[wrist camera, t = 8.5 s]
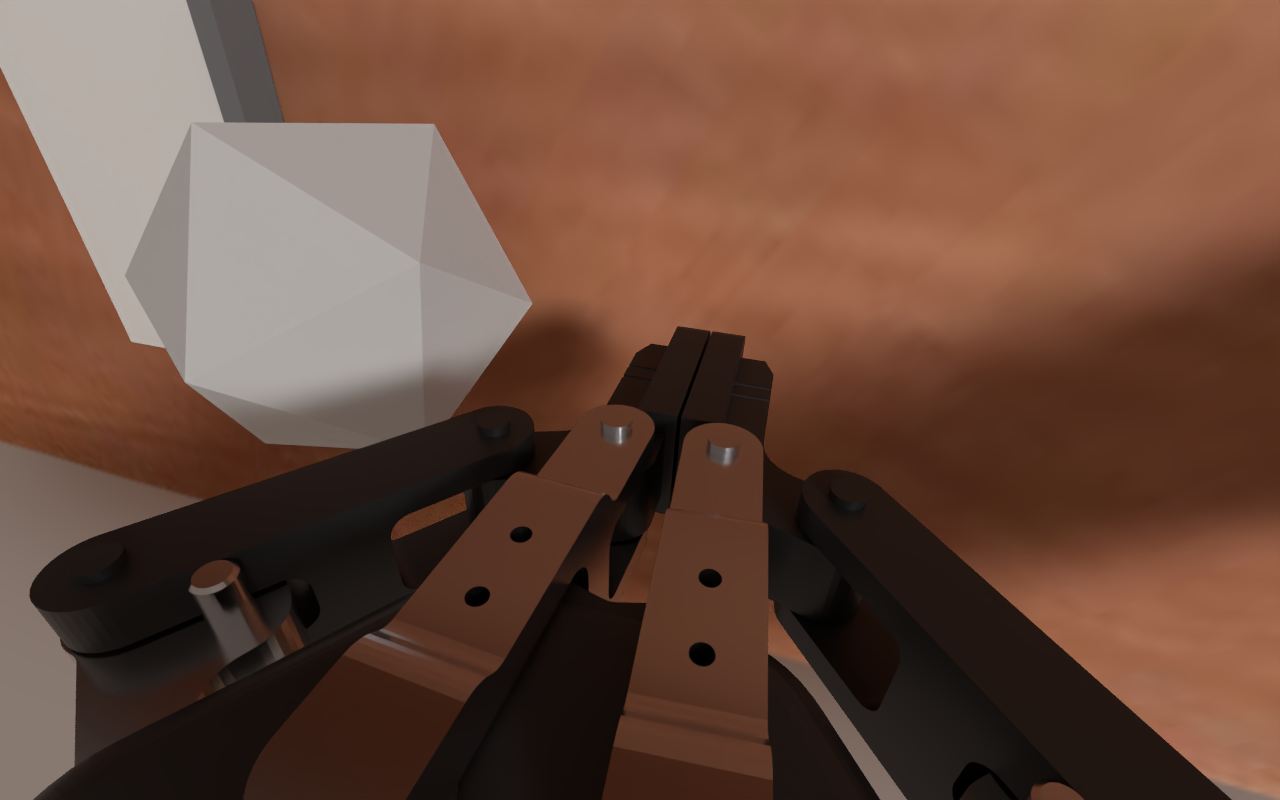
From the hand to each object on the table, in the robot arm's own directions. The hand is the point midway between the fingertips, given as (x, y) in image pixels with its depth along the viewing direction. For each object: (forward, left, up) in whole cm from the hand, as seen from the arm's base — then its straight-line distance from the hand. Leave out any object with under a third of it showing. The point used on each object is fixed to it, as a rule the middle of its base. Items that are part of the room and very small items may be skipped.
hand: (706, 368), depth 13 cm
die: (+10, 0, -6) cm, 12 cm away
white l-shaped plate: (+21, 0, -6) cm, 22 cm away
